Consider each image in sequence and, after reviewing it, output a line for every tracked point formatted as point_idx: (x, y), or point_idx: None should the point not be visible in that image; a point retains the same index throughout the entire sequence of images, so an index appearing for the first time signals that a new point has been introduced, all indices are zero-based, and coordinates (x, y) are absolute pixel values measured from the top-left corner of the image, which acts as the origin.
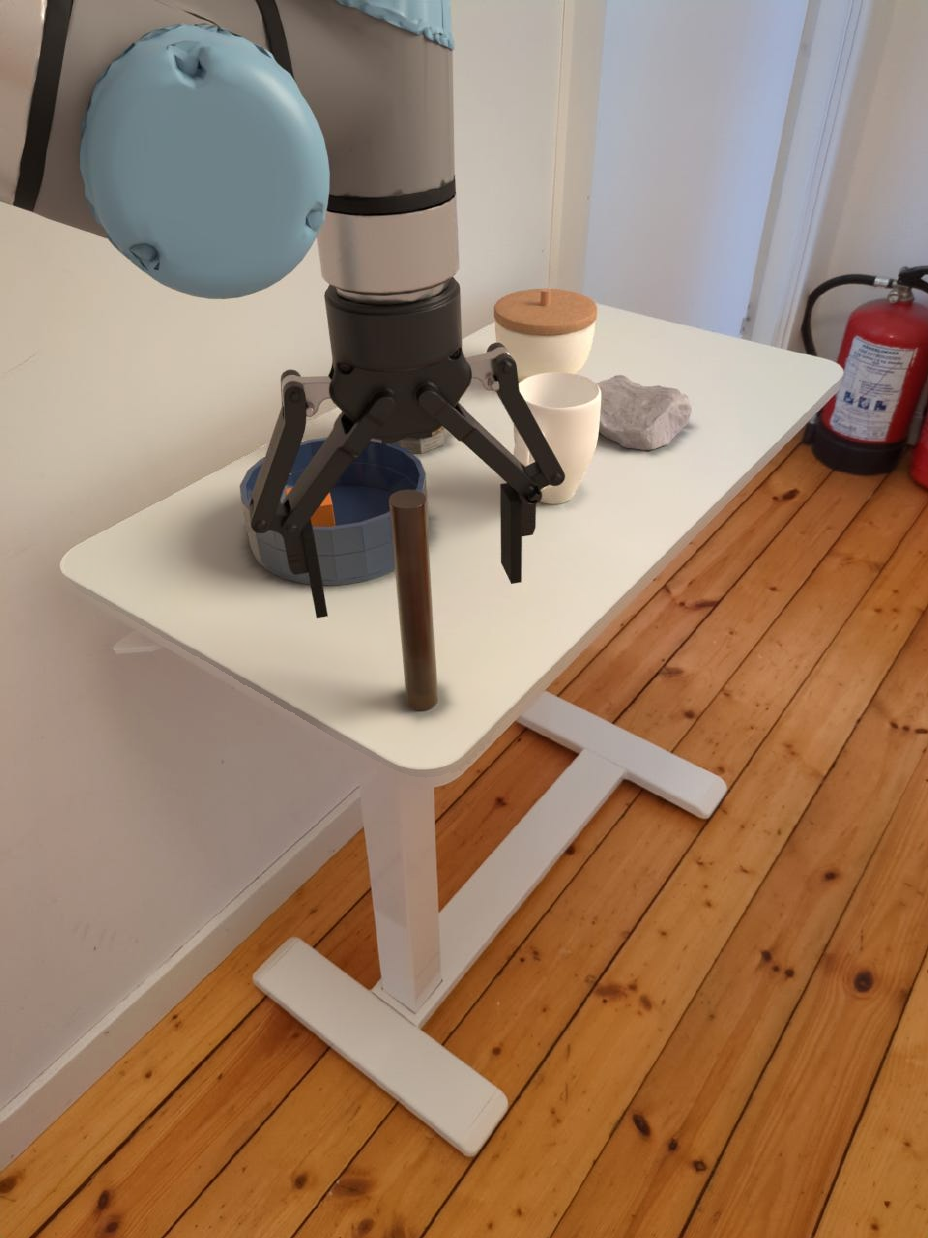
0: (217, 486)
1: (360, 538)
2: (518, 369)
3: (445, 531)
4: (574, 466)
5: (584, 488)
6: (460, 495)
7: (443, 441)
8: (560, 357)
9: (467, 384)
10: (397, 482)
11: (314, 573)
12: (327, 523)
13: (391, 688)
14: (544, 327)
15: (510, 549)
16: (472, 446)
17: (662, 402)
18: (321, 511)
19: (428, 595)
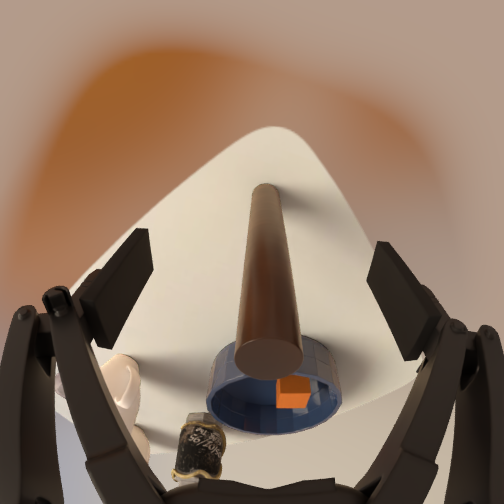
0: None
1: None
2: (139, 436)
3: (201, 358)
4: (103, 371)
5: (107, 359)
6: (185, 380)
7: (188, 415)
8: None
9: None
10: (225, 399)
11: (409, 277)
12: (284, 380)
13: (286, 217)
14: None
15: (129, 257)
16: (108, 422)
17: (62, 390)
18: (288, 389)
19: (252, 240)
